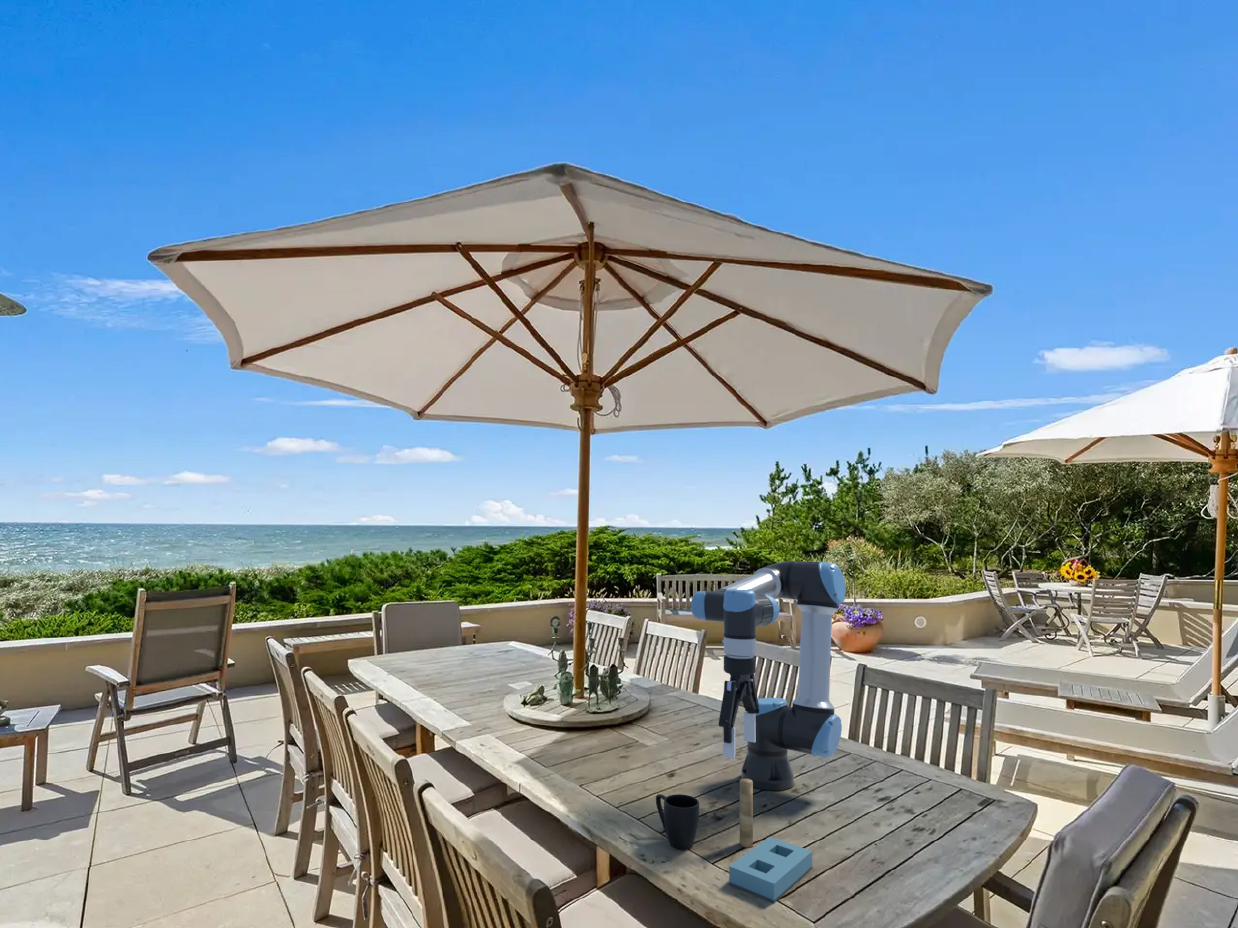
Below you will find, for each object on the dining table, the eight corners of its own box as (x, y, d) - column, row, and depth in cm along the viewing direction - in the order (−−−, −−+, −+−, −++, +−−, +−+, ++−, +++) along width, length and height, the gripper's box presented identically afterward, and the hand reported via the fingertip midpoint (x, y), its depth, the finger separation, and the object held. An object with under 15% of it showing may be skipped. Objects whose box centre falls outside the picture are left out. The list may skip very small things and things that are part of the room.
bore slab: (769, 852, 144) (769, 836, 144) (812, 868, 137) (812, 850, 138) (729, 884, 130) (729, 865, 131) (774, 902, 124) (774, 883, 124)
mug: (670, 827, 156) (670, 786, 157) (706, 846, 146) (706, 802, 148) (645, 836, 150) (645, 793, 152) (681, 856, 141) (681, 811, 142)
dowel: (743, 840, 150) (743, 777, 152) (755, 844, 148) (755, 780, 150) (737, 844, 148) (737, 780, 149) (748, 848, 146) (748, 784, 147)
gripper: (742, 646, 164) (743, 732, 162) (703, 661, 143) (703, 760, 140) (771, 649, 160) (772, 737, 158) (735, 665, 139) (735, 767, 136)
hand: (739, 748), depth 149 cm, fingers open, 13 cm apart
